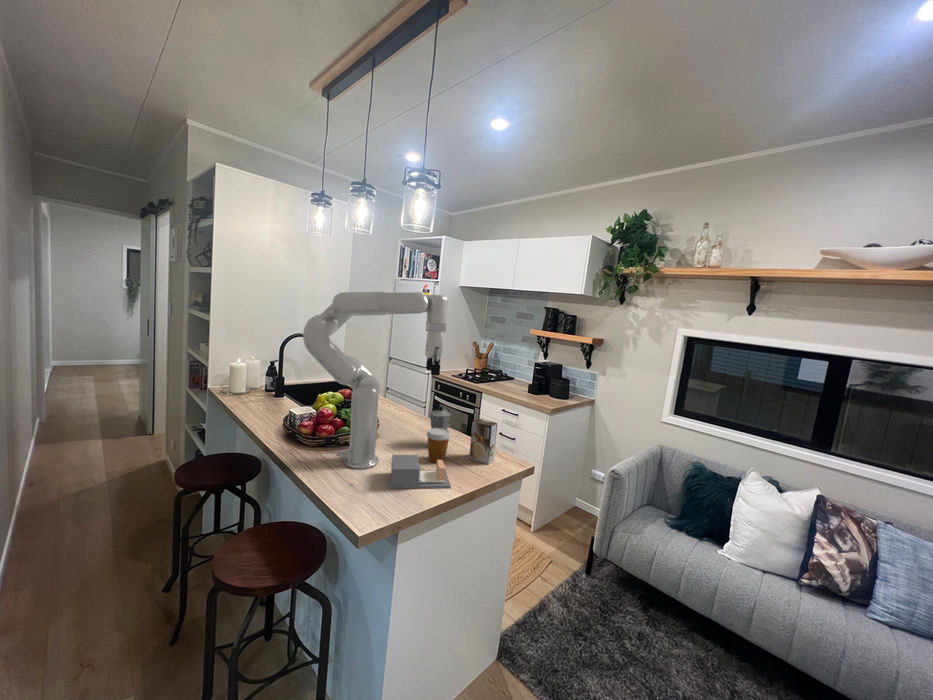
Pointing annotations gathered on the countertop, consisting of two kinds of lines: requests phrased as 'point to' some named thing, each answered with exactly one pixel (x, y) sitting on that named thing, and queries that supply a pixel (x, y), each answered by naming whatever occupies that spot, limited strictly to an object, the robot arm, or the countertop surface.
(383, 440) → the countertop surface
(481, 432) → the coffee box
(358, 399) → the robot arm
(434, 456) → the disposable coffee cup
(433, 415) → the coffeepot
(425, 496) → the countertop surface
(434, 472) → the sliding tray
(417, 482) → the dispenser
